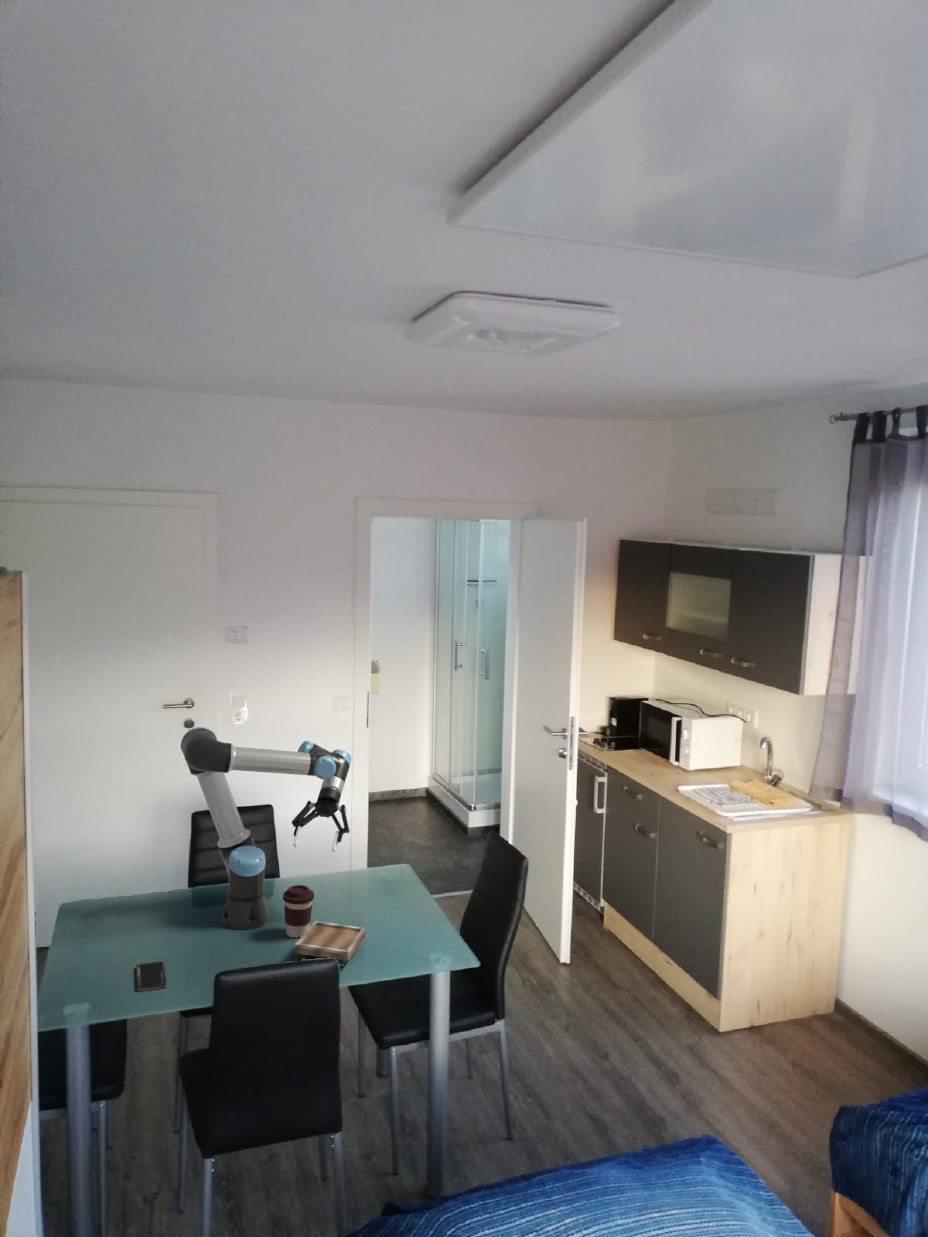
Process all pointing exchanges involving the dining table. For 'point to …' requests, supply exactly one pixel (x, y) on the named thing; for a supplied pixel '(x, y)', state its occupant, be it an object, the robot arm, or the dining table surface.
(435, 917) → the dining table surface
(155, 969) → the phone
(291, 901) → the coffee cup
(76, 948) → the dining table surface
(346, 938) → the shallow square tray
